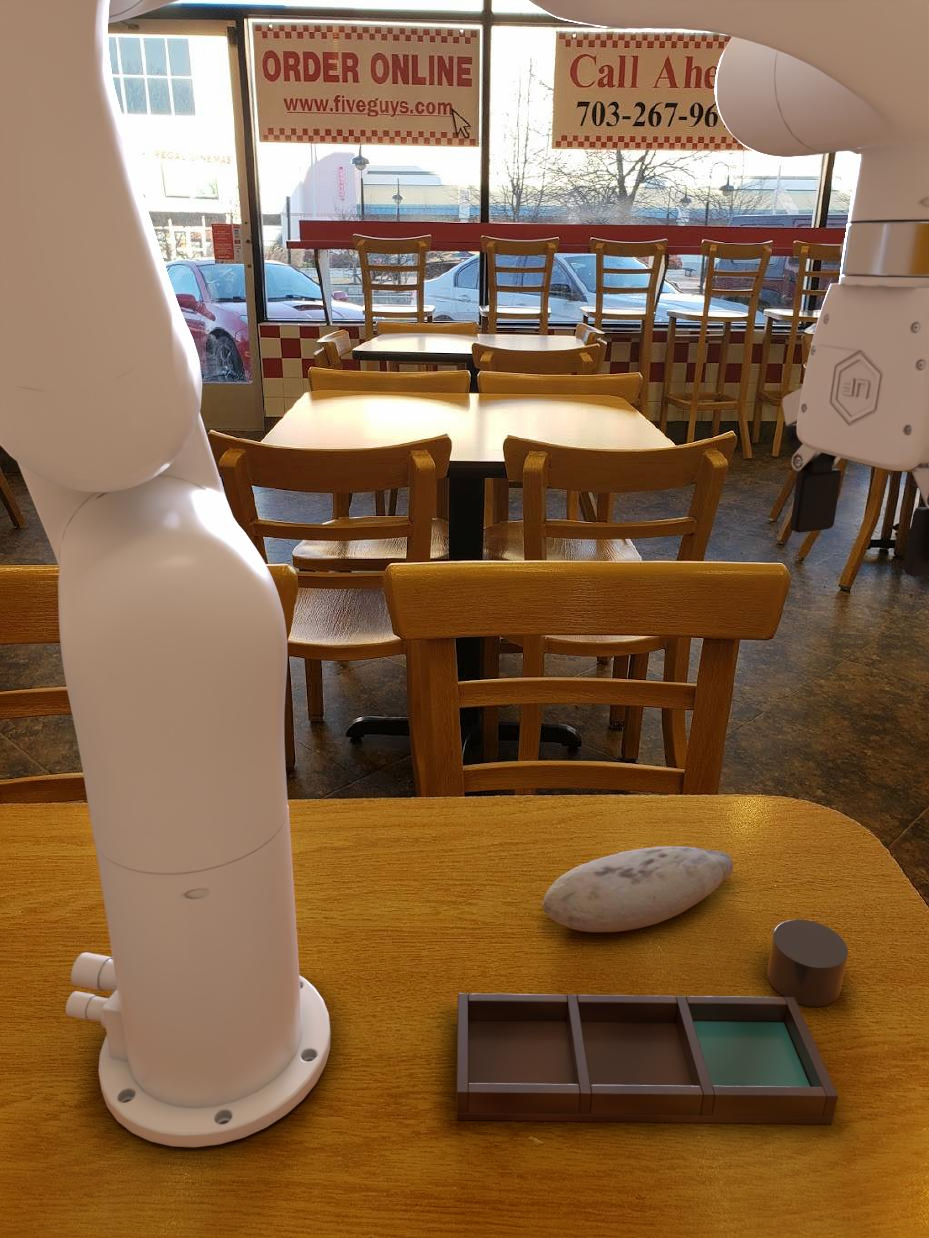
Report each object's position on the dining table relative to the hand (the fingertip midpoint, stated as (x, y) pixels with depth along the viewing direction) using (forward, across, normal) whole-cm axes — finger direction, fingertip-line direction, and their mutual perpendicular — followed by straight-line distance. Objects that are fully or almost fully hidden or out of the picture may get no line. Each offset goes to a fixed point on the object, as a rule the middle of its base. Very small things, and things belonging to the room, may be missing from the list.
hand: (865, 549), depth 59 cm
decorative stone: (+26, -2, -13) cm, 29 cm away
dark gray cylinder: (+25, +8, -7) cm, 28 cm away
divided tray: (+25, +10, -21) cm, 34 cm away
